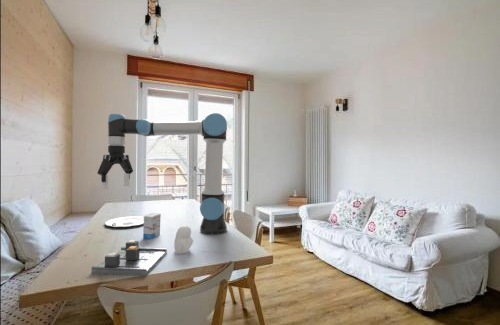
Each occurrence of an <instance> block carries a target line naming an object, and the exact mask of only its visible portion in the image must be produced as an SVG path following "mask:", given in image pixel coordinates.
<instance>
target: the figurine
mask: <svg viewBox="0 0 500 325" xmlns="http://www.w3.org/2000/svg"><path fill="white" fill-rule="evenodd" d="M191 234H192V230H191V227H190V226H189V225H187V224H183V225H180V226H179V227H178V228H177V230H176V233H175V238H174V243H173V244H174V246H173V247H174V248H173V249H174V252H175V254H180V255H181V254H182V255H183V254H187V253H189V251H190V248H191V247H192V245H193V243H194V239H193V238H192V237H191Z"/></svg>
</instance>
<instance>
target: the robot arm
mask: <svg viewBox="0 0 500 325" xmlns="http://www.w3.org/2000/svg"><path fill="white" fill-rule="evenodd" d="M107 121H108V122H107V125H108V127H107V128H108V131H107V132H108V133H107V134H108V135H107V136H108V138H107V144H108V146H107V147H108V148H107V151H108V154H103V157H102V158H103V159H102V161H101V164H100V166H99V168H98V171H97V174H98V175H99V176H101V177H100V178H101V183H102V185H101V187H102V190H109V175H108V174H109V172H110V170H111V169H112V168H113V166H114V165H117V164H118V165H120V167H121V169H122V170H123V171H124V173H123V186H124V187H130V179H131V174H133V172H134V169H133V166H132V164H131V161H130V156H129V154H125V153H126V147H125V145H126V134H128V135H139V136H143V137H150V136H151V137H154V136H197V135H198V136H201V137H203V138H202V139H203V141H204V142H205V146H206V147H205V165H204V166H205V173H204V189H203V190H202V191H201V194H200V195H201V197H200V198H201V201H200V202H201V203H200V205H199V211H200V215H202V217H203V218H202V221H201V224H200V227H199V231H200V233H201V234H204V235H212V236H213V235H222V234H224V232H225V233H226V232H227V231H228V226H227V223H226V221H225V220H226V219H225V196H226V195H225V192H224V191H223V190H222V181H223V156H224V155H223V154H224V143H225V142H227V129H228V122H227V119H226V117H225V116H223V115H222V114H221V113H218V112H211V113H209V114H207V115H206V116H204V119H201V120H195V121H193V120H190V121H189V120H188V121H149V120H148V119H145V118H126V116H125V115H124V114H122V113H121V114H120V113H110V114H108V120H107Z"/></svg>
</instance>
